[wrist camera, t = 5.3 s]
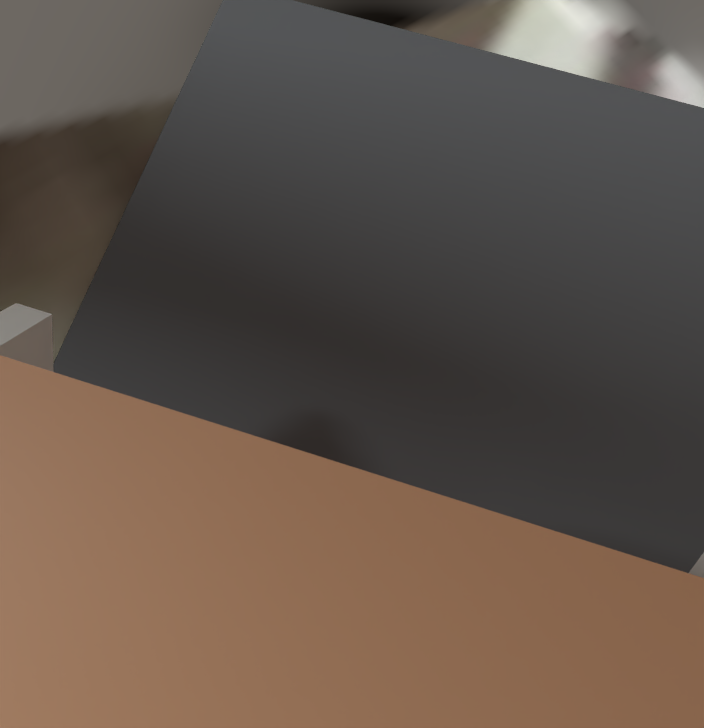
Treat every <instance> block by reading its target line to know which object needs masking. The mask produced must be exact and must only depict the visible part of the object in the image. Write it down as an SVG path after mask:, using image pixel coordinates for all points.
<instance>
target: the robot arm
mask: <svg viewBox="0 0 704 728" xmlns="http://www.w3.org/2000/svg"><path fill="white" fill-rule="evenodd" d="M0 355H1V356H4V357H8V358H11V359H14V360H17V361H20V362H23V363H27V364H30V365H33V366H36V367H39V368H42V369H46V370H49V371H52V372H54V368H53V329H52V314H50V313H47V312H44V311H40V310H37V309H34V308H31V307H28V306H24V305H21V304H18V303H15V304H13V305H11V306H10V307H8V308H6V309H4V310H2V311H0ZM689 574H692V575H695V576H699V577H702V578H704V553H703V554H702V555H701V557H700V558H699V559H698V561H697V562H696V563H695V565H694V566H693V568H692V569H691V570H690V572H689Z"/></svg>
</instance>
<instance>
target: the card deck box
mask: <svg viewBox="0 0 704 728" xmlns="http://www.w3.org/2000/svg"><path fill="white" fill-rule="evenodd" d="M0 728H704V578H702V577H699V576H695V575H692V574H689V573H686V572H683V571H680V570H677V569H673V568H670V567H667V566H664V565H661V564H658V563H654V562H651V561H648V560H645V559H642V558H639V557H636V556H632V555H629V554H626V553H623V552H620V551H617V550H613V549H610V548H607V547H604V546H601V545H598V544H595V543H591V542H588V541H585V540H582V539H579V538H576V537H572V536H569V535H566V534H563V533H560V532H557V531H553V530H550V529H547V528H544V527H541V526H538V525H535V524H531V523H528V522H525V521H522V520H519V519H516V518H512V517H509V516H506V515H503V514H500V513H497V512H494V511H490V510H487V509H484V508H481V507H478V506H475V505H471V504H468V503H465V502H462V501H459V500H456V499H453V498H449V497H446V496H443V495H440V494H437V493H434V492H430V491H427V490H424V489H421V488H418V487H415V486H412V485H408V484H405V483H402V482H399V481H396V480H393V479H389V478H386V477H383V476H380V475H377V474H374V473H370V472H367V471H364V470H361V469H358V468H355V467H352V466H348V465H345V464H342V463H339V462H336V461H333V460H329V459H326V458H323V457H320V456H317V455H314V454H311V453H307V452H304V451H301V450H298V449H295V448H292V447H288V446H285V445H282V444H279V443H276V442H273V441H270V440H266V439H263V438H260V437H257V436H254V435H251V434H247V433H244V432H241V431H238V430H235V429H232V428H229V427H225V426H222V425H219V424H216V423H213V422H210V421H206V420H203V419H200V418H197V417H194V416H191V415H187V414H184V413H181V412H178V411H175V410H172V409H169V408H165V407H162V406H159V405H156V404H153V403H150V402H146V401H143V400H140V399H137V398H134V397H131V396H128V395H124V394H121V393H118V392H115V391H112V390H109V389H105V388H102V387H99V386H96V385H93V384H90V383H87V382H83V381H80V380H77V379H74V378H71V377H68V376H64V375H61V374H58V373H55V372H52V371H49V370H46V369H42V368H39V367H36V366H33V365H30V364H27V363H23V362H20V361H17V360H14V359H11V358H8V357H4V356H1V355H0Z"/></svg>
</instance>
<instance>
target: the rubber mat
mask: <svg viewBox="0 0 704 728" xmlns="http://www.w3.org/2000/svg"><path fill="white" fill-rule="evenodd" d="M53 368H54V372H55V373H58V374H61V375H64V376H68V377H71V378H74V379H77V380H80V381H83V382H87V383H90V384H93V385H96V386H99V387H102V388H105V389H109V390H112V391H115V392H118V393H121V394H124V395H128V396H131V397H134V398H137V399H140V400H143V401H146V402H150V403H153V404H156V405H159V406H162V407H165V408H169V409H172V410H175V411H178V412H181V413H184V414H187V415H191V416H194V417H197V418H200V419H203V420H206V421H210V422H213V423H216V424H219V425H222V426H225V427H229V428H232V429H235V430H238V431H241V432H244V433H247V434H251V435H254V436H257V437H260V438H263V439H266V440H270V441H273V442H276V443H279V444H282V445H285V446H288V447H292V448H295V449H298V450H301V451H304V452H307V453H311V454H314V455H317V456H320V457H323V458H326V459H329V460H333V461H336V462H339V463H342V464H345V465H348V466H352V467H355V468H358V469H361V470H364V471H367V472H370V473H374V474H377V475H380V476H383V477H386V478H389V479H393V480H396V481H399V482H402V483H405V484H408V485H412V486H415V487H418V488H421V489H424V490H427V491H430V492H434V493H437V494H440V495H443V496H446V497H449V498H453V499H456V500H459V501H462V502H465V503H468V504H471V505H475V506H478V507H481V508H484V509H487V510H490V511H494V512H497V513H500V514H503V515H506V516H509V517H512V518H516V519H519V520H522V521H525V522H528V523H531V524H535V525H538V526H541V527H544V528H547V529H550V530H553V531H557V532H560V533H563V534H566V535H569V536H572V537H576V538H579V539H582V540H585V541H588V542H591V543H595V544H598V545H601V546H604V547H607V548H610V549H613V550H617V551H620V552H623V553H626V554H629V555H632V556H636V557H639V558H642V559H645V560H648V561H651V562H654V563H658V564H661V565H664V566H667V567H670V568H673V569H677V570H680V571H683V572H686V573H689V572H690V570H691V569H692V568H693V566H694V565H695V563H696V562H697V561H698V559H699V558H700V557H701V555H702V554H703V553H704V108H701V107H698V106H694V105H690V104H686V103H682V102H678V101H675V100H671V99H667V98H663V97H659V96H656V95H652V94H648V93H644V92H640V91H636V90H633V89H629V88H625V87H621V86H617V85H614V84H610V83H606V82H602V81H598V80H594V79H591V78H587V77H583V76H579V75H575V74H572V73H568V72H564V71H560V70H556V69H552V68H549V67H545V66H541V65H537V64H533V63H530V62H526V61H522V60H518V59H514V58H510V57H507V56H503V55H499V54H495V53H491V52H488V51H484V50H480V49H476V48H472V47H468V46H465V45H461V44H457V43H453V42H449V41H446V40H442V39H438V38H434V37H430V36H427V35H423V34H419V33H415V32H411V31H407V30H404V29H400V28H396V27H392V26H388V25H384V24H381V23H377V22H373V21H369V20H365V19H362V18H357V17H354V16H350V15H346V14H343V13H339V12H335V11H331V10H327V9H323V8H320V7H316V6H312V5H308V4H304V3H300V2H297V1H293V0H223V1H222V4H221V6H220V8H219V10H218V12H217V14H216V17H215V19H214V21H213V23H212V25H211V27H210V29H209V31H208V34H207V36H206V38H205V40H204V42H203V44H202V46H201V49H200V51H199V53H198V55H197V57H196V59H195V61H194V63H193V66H192V68H191V70H190V72H189V74H188V76H187V78H186V81H185V83H184V85H183V87H182V89H181V91H180V93H179V96H178V98H177V100H176V102H175V104H174V106H173V109H172V111H171V113H170V115H169V117H168V119H167V121H166V124H165V126H164V128H163V130H162V132H161V134H160V136H159V139H158V141H157V143H156V145H155V147H154V149H153V151H152V154H151V156H150V158H149V160H148V162H147V164H146V166H145V169H144V171H143V173H142V175H141V177H140V179H139V181H138V184H137V186H136V188H135V190H134V192H133V194H132V196H131V199H130V201H129V203H128V205H127V207H126V209H125V211H124V214H123V216H122V218H121V220H120V222H119V224H118V226H117V229H116V231H115V233H114V235H113V237H112V239H111V241H110V244H109V246H108V248H107V250H106V252H105V254H104V256H103V259H102V261H101V263H100V265H99V267H98V269H97V271H96V274H95V276H94V278H93V280H92V282H91V284H90V286H89V289H88V291H87V293H86V295H85V297H84V299H83V301H82V304H81V306H80V308H79V310H78V312H77V314H76V316H75V319H74V321H73V323H72V325H71V327H70V329H69V331H68V334H67V336H66V338H65V340H64V342H63V344H62V346H61V349H60V351H59V353H58V355H57V357H56V359H55V361H54V364H53Z"/></svg>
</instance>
